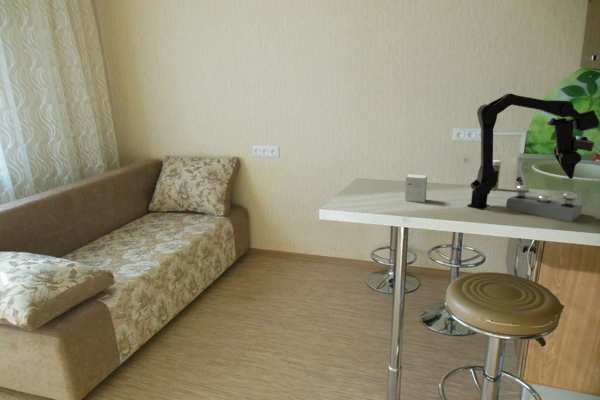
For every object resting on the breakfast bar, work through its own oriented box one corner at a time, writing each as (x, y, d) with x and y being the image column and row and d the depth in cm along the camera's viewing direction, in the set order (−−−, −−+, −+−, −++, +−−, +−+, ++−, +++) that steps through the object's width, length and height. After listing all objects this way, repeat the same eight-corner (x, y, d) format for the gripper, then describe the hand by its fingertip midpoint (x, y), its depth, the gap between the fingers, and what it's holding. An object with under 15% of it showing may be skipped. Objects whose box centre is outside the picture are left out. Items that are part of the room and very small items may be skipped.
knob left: (525, 200, 156) (526, 188, 155) (513, 198, 159) (514, 186, 158) (529, 198, 159) (531, 186, 157) (517, 196, 162) (519, 184, 161)
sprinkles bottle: (499, 189, 188) (503, 160, 184) (494, 190, 185) (497, 161, 182) (490, 187, 191) (493, 159, 188) (485, 188, 189) (488, 160, 185)
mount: (570, 221, 142) (572, 210, 141) (505, 209, 158) (507, 199, 157) (580, 214, 150) (582, 204, 149) (517, 202, 166) (519, 193, 165)
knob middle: (547, 210, 151) (549, 198, 149) (534, 208, 154) (536, 196, 153) (551, 208, 154) (553, 196, 152) (538, 206, 157) (540, 194, 155)
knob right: (573, 208, 144) (575, 195, 143) (559, 206, 148) (561, 193, 146) (576, 206, 147) (579, 193, 146) (563, 203, 150) (565, 191, 149)
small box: (426, 199, 173) (427, 175, 170) (424, 202, 168) (425, 178, 166) (407, 197, 177) (408, 173, 174) (404, 200, 172) (405, 176, 169)
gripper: (597, 134, 137) (600, 178, 141) (585, 126, 154) (588, 166, 157) (558, 140, 142) (563, 183, 146) (550, 132, 159) (555, 170, 162)
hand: (568, 175), depth 153 cm, fingers open, 9 cm apart
